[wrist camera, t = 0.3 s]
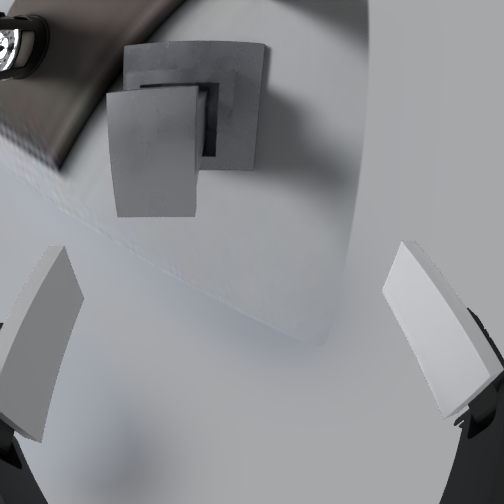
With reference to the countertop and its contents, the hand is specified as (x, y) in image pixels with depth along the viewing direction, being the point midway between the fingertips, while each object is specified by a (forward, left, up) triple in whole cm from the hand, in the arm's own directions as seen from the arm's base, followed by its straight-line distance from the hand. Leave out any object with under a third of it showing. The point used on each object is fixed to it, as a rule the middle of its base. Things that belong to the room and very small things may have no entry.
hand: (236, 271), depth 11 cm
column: (-2, -4, -26) cm, 27 cm away
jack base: (-2, -4, -28) cm, 28 cm away
